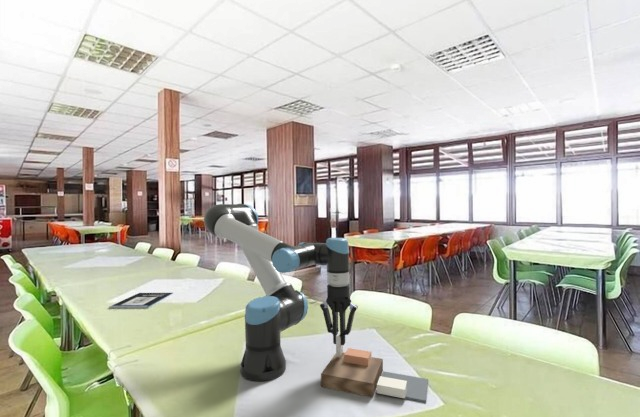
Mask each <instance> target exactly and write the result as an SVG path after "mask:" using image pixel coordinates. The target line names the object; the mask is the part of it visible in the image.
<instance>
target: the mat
mask: <svg viewBox="0 0 640 417" xmlns="http://www.w3.org/2000/svg"><path fill="white" fill-rule="evenodd" d="M381 376H382V377H388V378H393V379H399V380H405V381H407V391H406V397H405V398H404V399H406V400H411V401H417V402H420V403H427V398H428V387H429V379H428V378H425V377H419V376H413V375H406V374H401V373H395V372H389V371H384V370H383V372H382V374H381ZM375 392H376V394H378V393H377V389H376V390H375Z"/></svg>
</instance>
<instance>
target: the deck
mask: <svg viewBox="0 0 640 417" xmlns="http://www.w3.org/2000/svg"><path fill="white" fill-rule="evenodd" d="M344 354H345V352H343V353H342V354H341V356H338V355H336V353H335V354H334V355H333V356H332V358H331V359H330V360H329V362H328V363H327V365H326V366H325V368H324V369H323V370H322V372H321V373H320V387H322V388H326V389H330V390H331V389H332V390H336V391H340V392H345V393H349V394H357V395H361V396H364V397H365V396H366V397H370V398H373V397H374V395H375V392H376V390H377V383H378V380H379V378H380V376H382V374H383V371H384V370H383V368H384V367H383V366H384V361H383V360H384V359H383V358H381V357H374V356H371V361H370V363H369V365H368V366H365V365H359V364H353V363H347V362H344Z"/></svg>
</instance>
